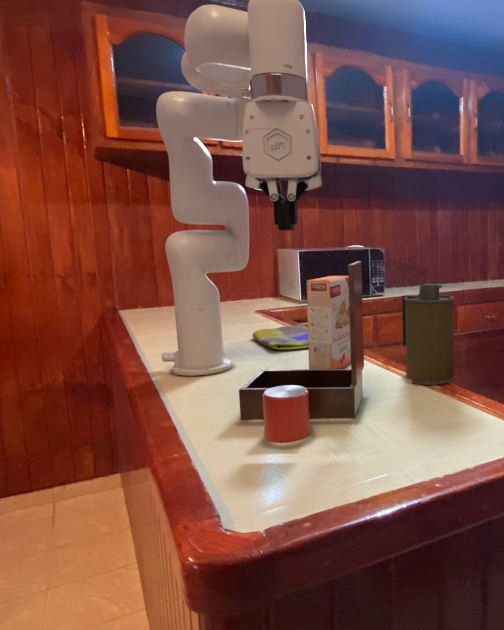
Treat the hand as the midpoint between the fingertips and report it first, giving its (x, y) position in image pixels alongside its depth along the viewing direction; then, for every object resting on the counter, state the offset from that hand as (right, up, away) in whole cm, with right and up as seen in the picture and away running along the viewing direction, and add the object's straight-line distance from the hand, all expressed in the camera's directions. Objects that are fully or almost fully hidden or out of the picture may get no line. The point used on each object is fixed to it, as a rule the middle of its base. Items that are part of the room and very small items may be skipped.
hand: (286, 230), depth 76 cm
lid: (+8, -13, +14) cm, 21 cm away
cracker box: (-1, -25, +46) cm, 52 cm away
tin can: (-1, -31, +4) cm, 31 cm away
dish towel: (-18, -20, +77) cm, 82 cm away
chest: (-1, -29, +17) cm, 33 cm away
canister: (+21, -26, +37) cm, 50 cm away
